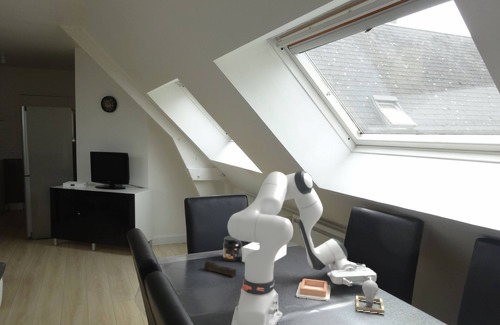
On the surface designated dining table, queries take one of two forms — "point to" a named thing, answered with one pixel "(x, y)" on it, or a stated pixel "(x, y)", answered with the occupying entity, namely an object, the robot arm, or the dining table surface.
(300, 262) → the dining table surface
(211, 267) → the hand tool
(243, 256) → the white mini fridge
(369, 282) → the lightbulb
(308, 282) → the socket
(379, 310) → the square wooden frame
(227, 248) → the supplement container
